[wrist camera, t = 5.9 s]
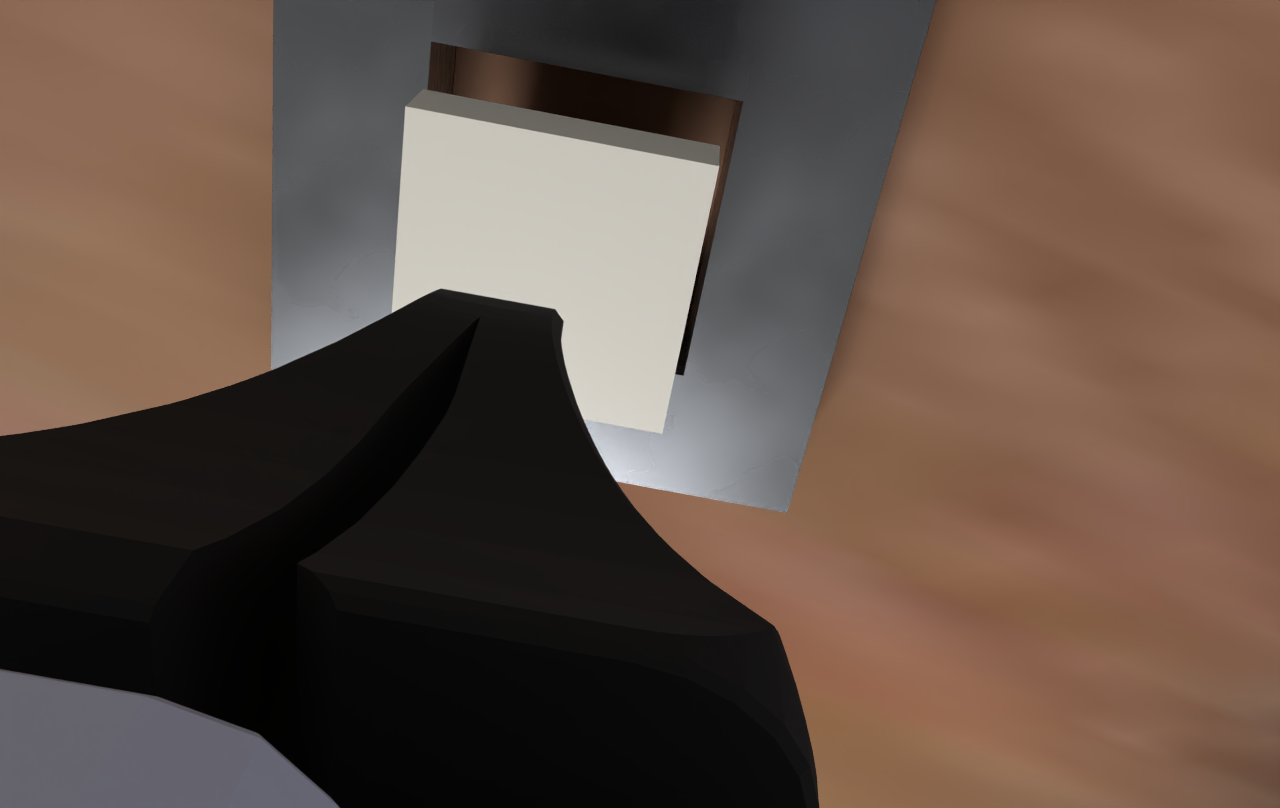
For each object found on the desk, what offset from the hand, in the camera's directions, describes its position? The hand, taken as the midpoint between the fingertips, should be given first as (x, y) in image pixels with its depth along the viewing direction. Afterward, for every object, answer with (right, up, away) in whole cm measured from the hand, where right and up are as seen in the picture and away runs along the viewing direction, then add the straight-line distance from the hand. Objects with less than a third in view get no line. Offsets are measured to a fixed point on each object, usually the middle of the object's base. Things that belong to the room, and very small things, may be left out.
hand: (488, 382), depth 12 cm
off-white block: (0, +3, +7) cm, 8 cm away
